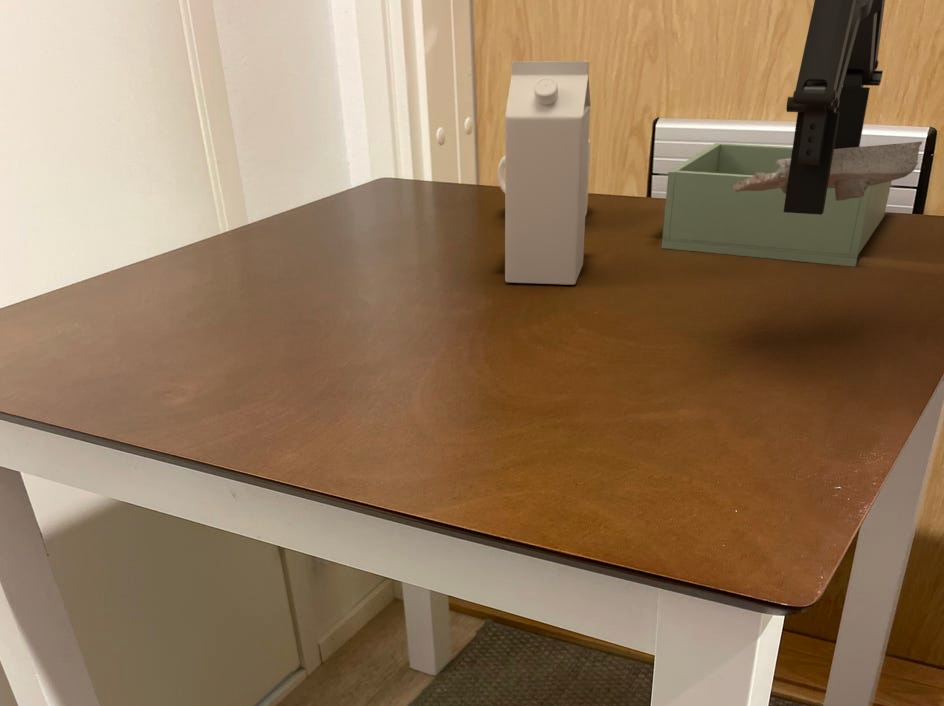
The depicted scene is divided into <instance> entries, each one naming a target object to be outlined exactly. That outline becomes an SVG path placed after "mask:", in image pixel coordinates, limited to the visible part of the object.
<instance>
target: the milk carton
mask: <svg viewBox="0 0 944 706" xmlns="http://www.w3.org/2000/svg"><path fill="white" fill-rule="evenodd" d="M589 70H590V61H589V60H571V61H568V60H567V61H566V60H565V61H563V60H562V61H561V60H559V61H557V60H556V61H554V60H553V61H552V60H551V61H549V60H548V61H544V60H543V61H512V62H511V76H510V83H509V89H508V95H507V102H506V108H505V116H504V117H505V118H504V119H505V121H504V122H505V123H504V124H505V125H504V127H505V132H504V133H505V135H504V137H505V139H504V140H505V142H504V143H505V144H504V145H505V146H504V147H505V149H504V150H505V151H504V152H505V155H504V156H505V168H504V179H505V193H504V194H505V195H504V197H505V198H504V199H505V200H504V206H505V207H504V208H505V209H504V211H505V212H504V213H505V215H504V227H505V228H504V229H505V230H504V232H505V233H504V279H505V283H513V284H514V283H516V284H537V285H538V284H542V285H569V286H571V285H572V286H573V285H576V283H577V281H578V278H579V276H580V273H581V271H582V268H583V265H584V253H585V231H586V216H585V212H586V190H587V169H588V147H589V139H590V125H591V123H590V122H591V92H590V78H589V74H590V73H589Z"/></svg>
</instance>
